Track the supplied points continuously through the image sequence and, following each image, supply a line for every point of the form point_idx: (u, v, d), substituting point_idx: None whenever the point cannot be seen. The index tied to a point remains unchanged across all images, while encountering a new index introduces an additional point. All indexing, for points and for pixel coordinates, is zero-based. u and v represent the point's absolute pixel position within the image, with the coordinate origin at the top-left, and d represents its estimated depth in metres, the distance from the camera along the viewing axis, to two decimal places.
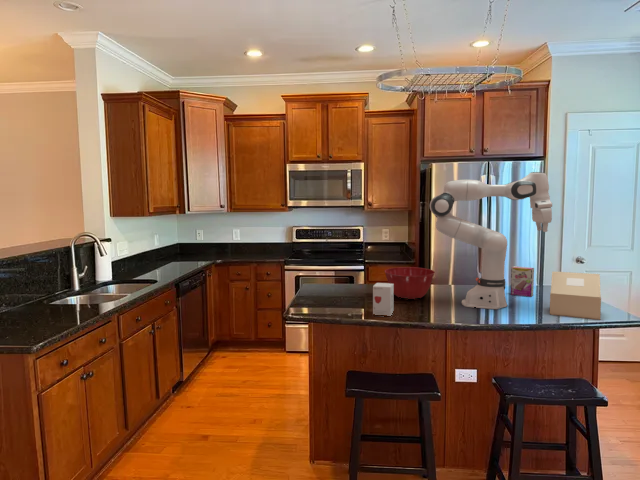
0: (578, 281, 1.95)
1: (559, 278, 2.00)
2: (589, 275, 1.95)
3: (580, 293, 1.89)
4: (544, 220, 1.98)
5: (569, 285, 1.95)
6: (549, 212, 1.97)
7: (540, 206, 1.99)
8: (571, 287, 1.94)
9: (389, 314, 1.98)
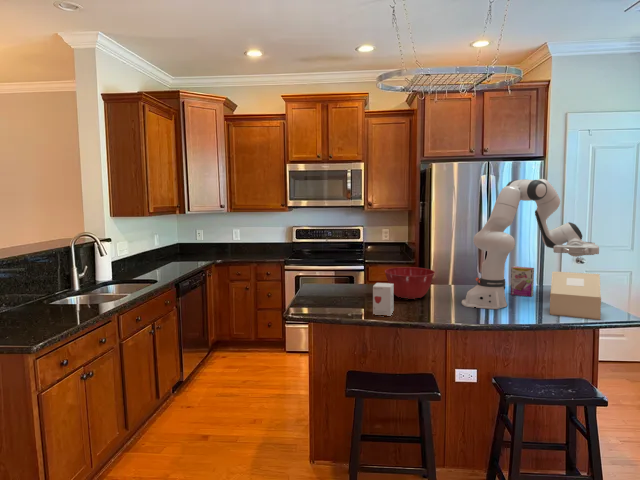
0: (578, 281, 1.95)
1: (559, 278, 2.00)
2: (589, 275, 1.95)
3: (580, 293, 1.89)
4: None
5: (569, 285, 1.95)
6: None
7: None
8: (571, 287, 1.94)
9: (389, 314, 1.98)
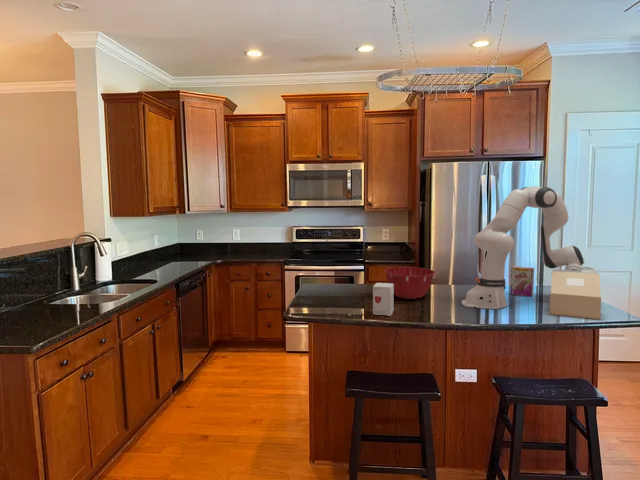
0: (578, 281, 1.95)
1: (559, 278, 2.00)
2: (589, 275, 1.95)
3: (580, 293, 1.89)
4: None
5: (569, 285, 1.95)
6: None
7: None
8: (571, 287, 1.94)
9: (389, 314, 1.98)
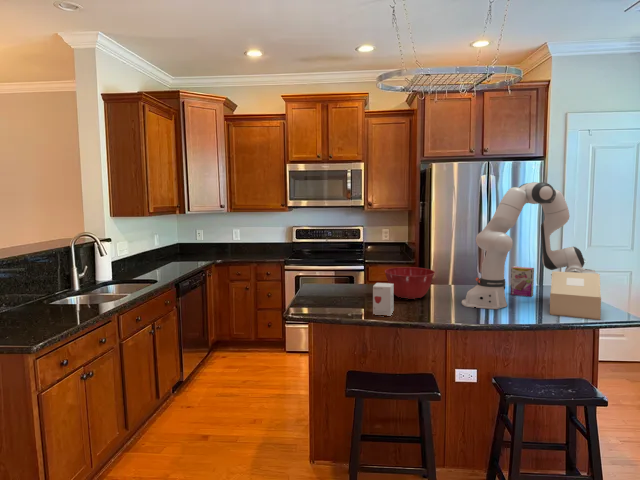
0: (578, 281, 1.95)
1: (559, 278, 1.99)
2: (589, 275, 1.95)
3: (580, 293, 1.89)
4: None
5: (569, 285, 1.95)
6: None
7: (595, 272, 2.04)
8: (571, 287, 1.93)
9: (389, 314, 1.98)
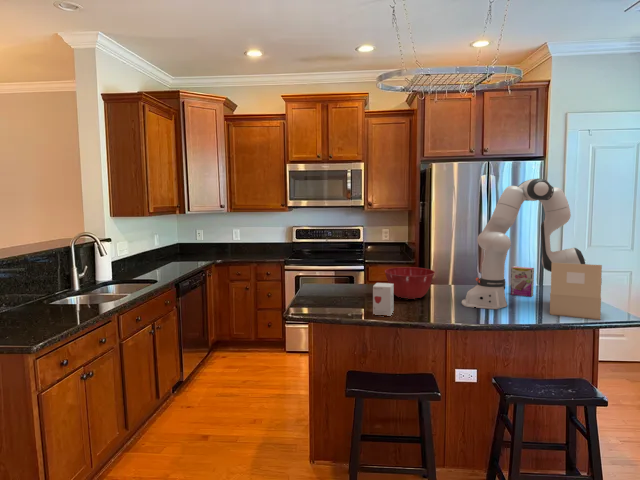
0: (578, 277, 1.88)
1: (559, 273, 1.92)
2: (590, 267, 1.85)
3: (581, 292, 1.88)
4: (601, 278, 1.89)
5: (570, 282, 1.90)
6: None
7: None
8: (571, 285, 1.90)
9: (389, 314, 1.98)
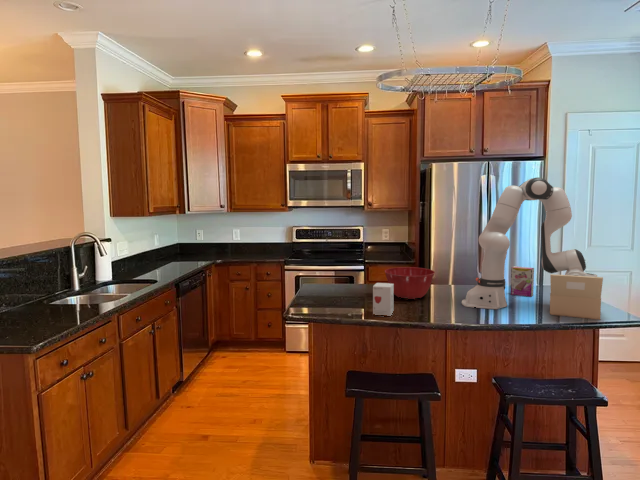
0: (578, 285, 1.83)
1: (558, 282, 1.86)
2: (591, 279, 1.78)
3: (580, 295, 1.87)
4: None
5: (569, 288, 1.87)
6: None
7: None
8: (571, 290, 1.87)
9: (389, 314, 1.98)
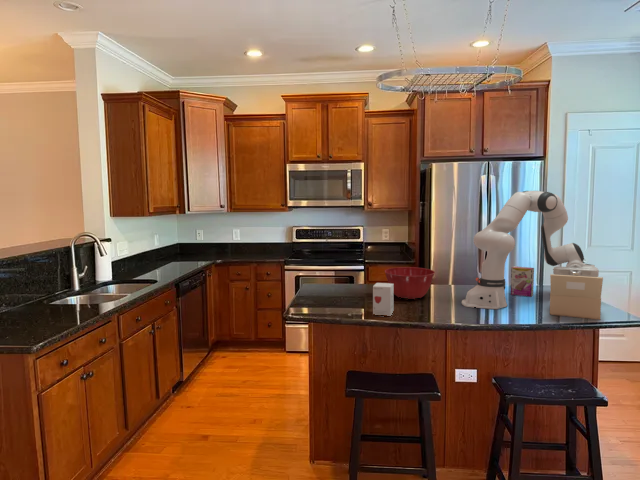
0: (578, 285, 1.83)
1: (558, 282, 1.86)
2: (591, 279, 1.78)
3: (581, 295, 1.87)
4: (598, 270, 2.10)
5: (569, 288, 1.87)
6: None
7: (594, 266, 2.16)
8: (571, 290, 1.87)
9: (389, 314, 1.98)
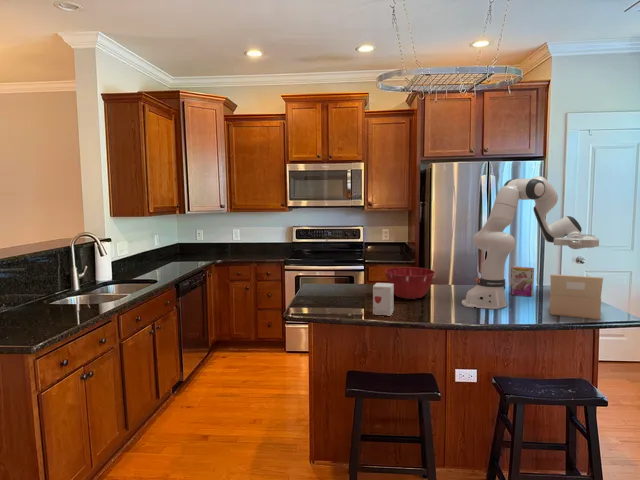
0: (578, 285, 1.83)
1: (558, 282, 1.86)
2: (591, 279, 1.78)
3: (581, 295, 1.87)
4: (598, 240, 2.10)
5: (569, 288, 1.87)
6: None
7: (594, 237, 2.16)
8: (571, 290, 1.87)
9: (389, 314, 1.98)
